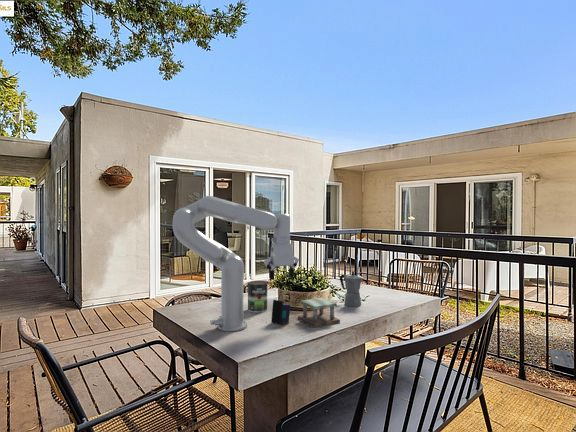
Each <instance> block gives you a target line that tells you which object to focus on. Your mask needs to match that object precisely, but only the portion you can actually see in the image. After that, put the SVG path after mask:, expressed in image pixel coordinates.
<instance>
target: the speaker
mask: <svg viewBox="0 0 576 432" xmlns="http://www.w3.org/2000/svg"><path fill="white" fill-rule="evenodd" d="M290 312H291V303H285V302H284V301H283V300H277V299H272V309H271V320H270V321H271V324H274V325H279V326H282V324H288V323H290Z"/></svg>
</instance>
